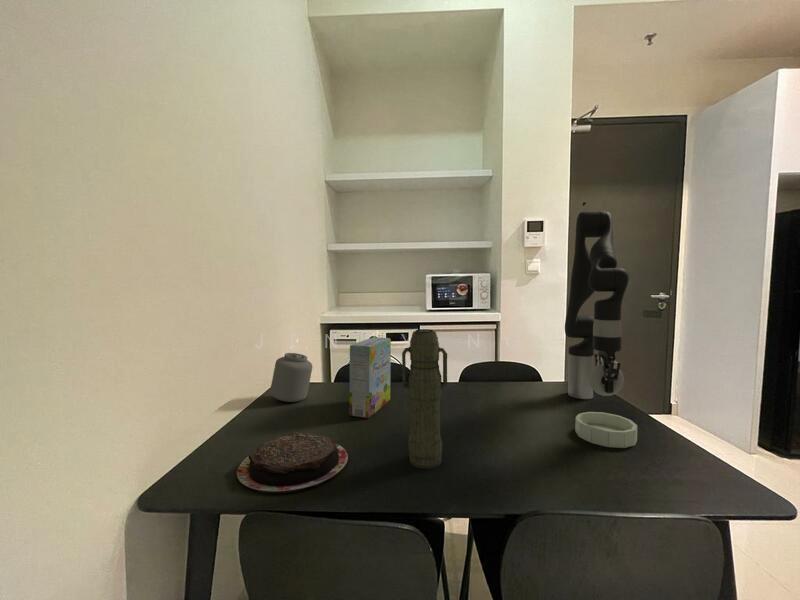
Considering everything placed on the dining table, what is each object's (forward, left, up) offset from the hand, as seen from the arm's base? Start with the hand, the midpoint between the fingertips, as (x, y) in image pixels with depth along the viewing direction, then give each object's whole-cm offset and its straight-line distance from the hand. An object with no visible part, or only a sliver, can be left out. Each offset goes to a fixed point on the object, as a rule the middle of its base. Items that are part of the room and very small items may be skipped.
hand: (606, 390), depth 112 cm
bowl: (0, 0, -14) cm, 14 cm away
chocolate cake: (+30, -87, -15) cm, 93 cm away
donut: (0, 0, -2) cm, 2 cm away
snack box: (-15, -77, -14) cm, 80 cm away
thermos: (+23, -53, -14) cm, 60 cm away
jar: (-21, -111, -14) cm, 114 cm away
